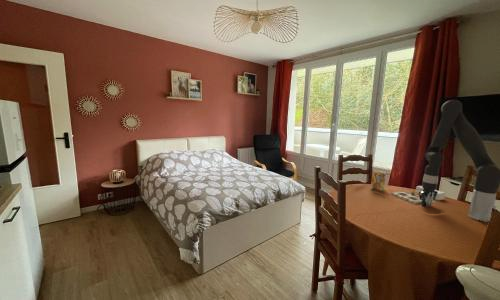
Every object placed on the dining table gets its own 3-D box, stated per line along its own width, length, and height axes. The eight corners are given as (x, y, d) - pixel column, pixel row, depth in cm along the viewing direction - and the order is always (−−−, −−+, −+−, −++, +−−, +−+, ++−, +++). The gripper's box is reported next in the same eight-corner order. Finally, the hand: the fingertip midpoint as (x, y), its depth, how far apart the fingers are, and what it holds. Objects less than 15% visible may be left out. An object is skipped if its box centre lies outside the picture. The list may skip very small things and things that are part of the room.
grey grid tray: (436, 203, 151) (436, 197, 150) (428, 204, 149) (429, 198, 148) (408, 193, 170) (409, 188, 169) (401, 193, 168) (402, 189, 167)
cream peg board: (425, 203, 150) (426, 200, 149) (414, 205, 147) (415, 201, 147) (401, 194, 167) (401, 191, 166) (391, 195, 164) (391, 192, 164)
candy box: (384, 190, 175) (386, 172, 172) (382, 191, 172) (384, 173, 169) (372, 187, 181) (374, 170, 179) (370, 189, 178) (372, 171, 176)
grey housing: (443, 200, 156) (445, 192, 155) (437, 201, 154) (438, 193, 153) (421, 192, 171) (422, 185, 170) (415, 193, 169) (416, 186, 168)
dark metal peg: (431, 207, 143) (433, 196, 142) (426, 208, 142) (428, 197, 141) (425, 205, 147) (426, 194, 146) (420, 206, 146) (422, 194, 145)
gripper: (428, 183, 136) (424, 209, 139) (444, 182, 140) (440, 207, 143) (416, 180, 143) (412, 204, 146) (432, 179, 147) (428, 202, 150)
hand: (426, 205), depth 144 cm, fingers closed on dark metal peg, 4 cm apart
